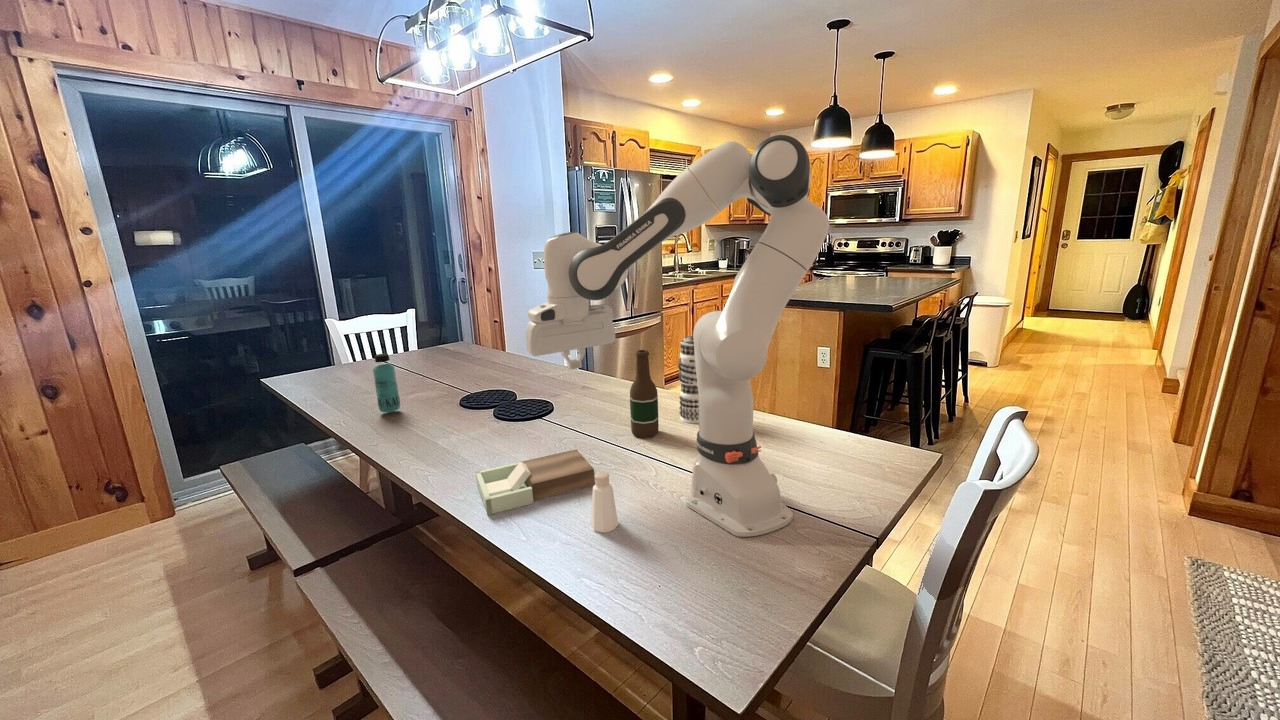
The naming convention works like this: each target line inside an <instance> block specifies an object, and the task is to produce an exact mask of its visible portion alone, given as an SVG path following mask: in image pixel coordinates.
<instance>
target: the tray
mask: <svg viewBox="0 0 1280 720" xmlns="http://www.w3.org/2000/svg"><path fill="white" fill-rule="evenodd" d="M518 464H519V462H514V463H509V464H505V465H500V466H497V467H495V466H494V467H492V468H487V469H482V470H478V471H475V479H476V485H477V490H478V492H479V494H480V498H481V500H482V504H483V506H484V510H485V513H486V512H487V513H486V515H487V516H489V515H493V514H498V513H501V512H505V511H508V510H513V509H517V508H521V507H525V506H528V505H532V504H534V499H533V494H532V488H531V487H526V485H525V483H523V485H522V486H521V487H520V488H519V489H518V490H512V489H511V491H510V492H506V493H502V494H498V495H494V496H489V493H488V491H487V488H486V485H485V484H486V483H491V482H495V481H500V480H504V479H507V478H508V477H509V475H510V474H511V473H512V471H513V470H514V469H515V467H516V466H517V465H518Z"/></svg>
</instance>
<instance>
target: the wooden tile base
mask: <svg viewBox="0 0 1280 720" xmlns="http://www.w3.org/2000/svg"><path fill="white" fill-rule="evenodd" d="M521 462H522V463H524V464H526V466H527V468H528V469H529V471H530V473H531V474H530V475H529V477H528V478H527V479H526V481H525V482H524V485H525V487H526V488H527V487H531V488H532V494H533V502H534V501H538V500H542V499H546V498H549V497H553V496H557V495H562V494H566V493H569V492H573V491H577V490H582V489H586V488H588V487H593V486H594V485H595V484H596V483H595V468H594V467H593V466H592V465H591V464H590V463H589V461H587V459H586V458H585V457H584V456H583V455H582V454H581V452H580V451H579V450H578V449H576V448H575V449H573V450H572V449H571V450H568V451H563V452H559V453H554V454H550V455H545V456H541V457H537V458H532V459H527V460H523V461H522V460H521Z"/></svg>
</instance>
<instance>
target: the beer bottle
mask: <svg viewBox="0 0 1280 720" xmlns="http://www.w3.org/2000/svg"><path fill="white" fill-rule="evenodd" d="M635 356H636V357H635V359H636V361H635V379H634V381H633V383H632V384H631V386H630V389H629V407H630V408H629V410H630V412H629V413H630V429H631V433H632V435H633V436H634V437H635V438H638V439H639V438H640V439H644V440H645V439H650V438H654V437H655V436H657V435H658V434H659V428H660V427H659V397H658V396H659V395H658V389H657V386H656V384H655V383H654V382H653V380H652V377H651V372H650V371H651V370H650V362H649V361H650V358H649V356H650V352H649V351H648V350H647V349H638V350H637V351H635Z"/></svg>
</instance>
